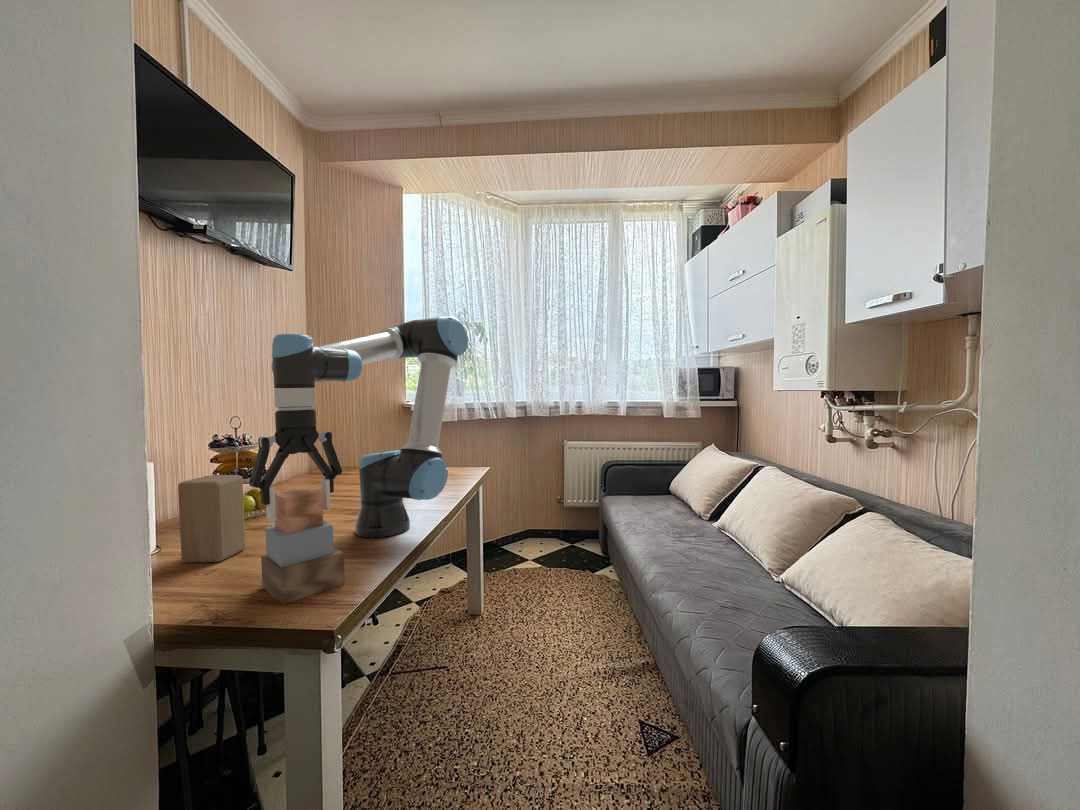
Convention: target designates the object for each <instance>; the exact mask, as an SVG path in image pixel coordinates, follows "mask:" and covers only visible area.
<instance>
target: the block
mask: <svg viewBox="0 0 1080 810" xmlns="http://www.w3.org/2000/svg"><path fill="white" fill-rule="evenodd" d="M243 482H244V481H243V476H242V475H239V474H221V475H219V474H216V475H215V474H214V475H213V474H212V475H210V474H209V475H204V476H201V477H196V478H192V479H188V480H184V481H181V482H179V483H178V485H177V493H178V494H177V495H178V512H179V513H178V516H179V533H180V536H179V538H180V553H181V554H180V555H181V557H180V558H181V561H182V563H220V562H222V561H224V560H225V559H226V560H227V559H228V558H230V557H232V556H233V555H235V554H237V553H240V552H242V551H243V550H245V549H246V526H245V525H246V524H245V523H246V522H245V506H244V505H245V502H244V501H245V500H244V486H243V485H244V483H243Z"/></svg>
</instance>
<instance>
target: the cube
mask: <svg viewBox="0 0 1080 810" xmlns="http://www.w3.org/2000/svg"><path fill="white" fill-rule="evenodd" d="M323 510H324V509H323V506H322V492H321V491H318V490H316V489H312V488H309V487H307V488H301V489H295V490H290V491H289V490H288V491H285V492H277V493H275V511H276V521H274V525H275V527H276V528H278V529H280V530H282V531H283V532H285V533H292V532H296V531H301V530H305V529H309V528H314V527H318V526H322V525H323V521H324V514H323V513H324V511H323Z"/></svg>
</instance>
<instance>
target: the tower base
mask: <svg viewBox="0 0 1080 810" xmlns="http://www.w3.org/2000/svg"><path fill="white" fill-rule="evenodd" d="M344 554H345V553H344V551H342V550H339V549H337V548H335V547H334V554H331V555H327V556H323V557H319V558H316V559H312V560H308V561H304V562H300V563H297V564H293V565H289V566H285V567H282V568H281V567H280V566H279V565H278V564H276V563H275V562H274V561H273V560H272V559H270V558H269V557H268V556H267V554H264V555H261V556H260V557H261V558H260V561H261V562H260V563H261V564H260V565H261V583H262V589H263V588H264V589H263V590H265V589H266V590H267V591H268V592H269V593H268V592H267V591H266V590H265V591H266V592H267V593H268V594H269V595H271V596H272V597H273V596H274V597H275V600H276V601H278V602H279V601H280V602H279V603H280V604H282V605H286V604H290V603H293V602H295V600H296V601H298V599H299V600H301V598H302V599H305V598H307V596H308V597H310V595H311V596H313V594H314V595H316V593H317V594H319V593H322V592H326V591H328V590H331V589H334V588H337V587H340V586H343V585H345V584H346V581H345V555H344ZM274 597H273V598H274ZM304 597H305V598H304ZM292 601H293V602H292ZM289 602H290V603H289Z"/></svg>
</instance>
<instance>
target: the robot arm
mask: <svg viewBox="0 0 1080 810" xmlns="http://www.w3.org/2000/svg"><path fill="white" fill-rule="evenodd" d="M468 345H469V338H468V334H467V330H466V328H465V326H464V324H463V323H462V322H461V321H460V320H459V319H458V318H457V317H455V316H451V315H449V316H439V317H430V318H424V319H423V318H421V319H412V320H409V321H406V322H403V323H400V324H398V325H393V326H390V327H386V328H383V329H382V330H380V332H379V333H375V334H370V335H365V336H360V337H356V338H350V339H347V340H342V341H337V342H331V343H328V344H327V343H326V344H323V345H318V346H316V345H315V343H314V339H313V337H312V336H311V335H308V334H300V333H280V334H277V335H275V336H274V337H273V338H272V349H271V358H272V361H271V371H272V374H273V388H274V389H273V390H274V391H273V392H274V394H273V395H274V407H275V409H276V408H277V410H276V411H275V412H274V417H275V418H274V419H275V420H274V421H275V432H274V435H272V436H266V437H265V436H260V437H258V439H257V441H258V451H257V454H256V458H255V461H254V464H253V468H252V471H251V475H250V479H249V483H248V485H249V486H250V487H253V488H258V489H259V491H260V503H261V504H262V505H263V506H266V507H265V508H266V520H268V521H270V522H275V521H276V511H275V494H276V493H275V491H276V489H275V487H271V486H272V484H273V482H274V481H275V478H276V477H277V475H278V474H279V472H280V470H281V469H282V466H283V465H284V464H285V463H284V462H285V460H287V459H288V457H289V455H296V454H298V453H300V454H307V455H309V457H310V458H311V460H312V461H313V463H314V464H315V465H316V467H317V468H318V470H319V471H320V473H322V475H323V477H322V478H320V492H322V506H323V510H326V511H329V510H331V507H332V506H331V505H332V504H331V494H333V493H334V490H335V486H334V485H335V483H334V480H335V479H336V477H337V476H338V475H339V476H340V475H342V473H343V469H342V466H341V464H340V461H339V458H338V455H337V452H336V449H335V447H334V444H333V433H332V432H331V431H323V432H318V431H317V414H316V413H317V412H316V410H315V409H313V407H315V406H316V404H317V403H316V391H315V390H316V389H315V388H316V383H319V382H321V383H322V382H342V383H343V382H350V381H356V379H357V380H358V378H359V377H360V376H361V374H362V371H363V366H364V365H365V366H366V365H367V364H371V363H375V362H378V361H382V360H383V361H384V360H386V359H387V360H391V361H394V360H398V359H403V358H404V359H405V358H406V359H407V358H410V359H411V358H417V360H418V361H419V362H420V364H421V365H420V371H419V375H418V381H417V387H416V391H415V398H414V405H413V411H412V415H411V420H410V421H411V422H410V427H409V433H408V438H407V443H406V444H404V445H403V446H402V447H401V448H400V450H399V449H397V450H389V451H382V452H375V453H369V454H364V455H363V456H361V457H360V459H359V468H358V471H359V486H360V487H359V488H360V490H359V491H360V509H359V512H358V516H357V519H356V523H355V535H356V536H358V537H360V536H361V537H360V538H366V537H369V538H370V539H375V538H374V537H378V538H386V537H385V536H387V537H391V536H396V535H399V534H402V533H404V532H407V531H408V530H409V529H410V527H411V524H410V517H409V514H408V512H407V510H406V507H405V505H404V499H410V500H416V501H422V500H424V501H425V500H426V501H428V500H433V499H435V498H436V497H438V496H439V495H440V493H442V491H443V490H444V489H445V486H446V484H447V481H448V477H449V469H448V467H447V463H446V462H445V460H444V459H443V452H442V451H441V449H440V448H439V444H440V438H441V431H442V424H443V420H444V419H443V418H444V412H445V407H446V406H445V405H446V399H447V393H448V387H449V381H450V375H451V369H453V368H454V367H455V366H456V365H457V363H458V356H462V355H463V354H464V353H465V352H466V351H467V349H468ZM315 382H316V383H315ZM318 439H319V442H321V445H322V448H323V451H324V453H325V456H326V459H327V462H328V464H327V462H326V461H325V459H324V457H323V456H322V455H321V454H320V453H319V450H318V448H317V447H316V446H315V443H316V441H317V440H318ZM274 443H276V445H278V446H279V447H278V449H277V451H276V453H275V456H274V458H273V460H272V462H270V463H271V464H270V465H269V466H268V469H267V470H266V472H265V468H266V465H267V462H268V458H269V454H270V449H271V448H273V446H274V445H273V444H274ZM264 472H265V474H264ZM406 530H407V531H406ZM369 538H368V539H369Z"/></svg>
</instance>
